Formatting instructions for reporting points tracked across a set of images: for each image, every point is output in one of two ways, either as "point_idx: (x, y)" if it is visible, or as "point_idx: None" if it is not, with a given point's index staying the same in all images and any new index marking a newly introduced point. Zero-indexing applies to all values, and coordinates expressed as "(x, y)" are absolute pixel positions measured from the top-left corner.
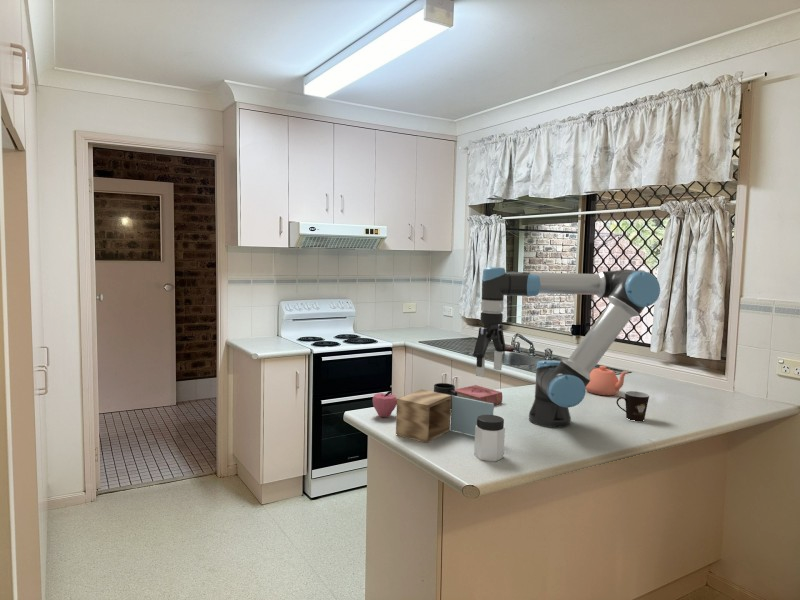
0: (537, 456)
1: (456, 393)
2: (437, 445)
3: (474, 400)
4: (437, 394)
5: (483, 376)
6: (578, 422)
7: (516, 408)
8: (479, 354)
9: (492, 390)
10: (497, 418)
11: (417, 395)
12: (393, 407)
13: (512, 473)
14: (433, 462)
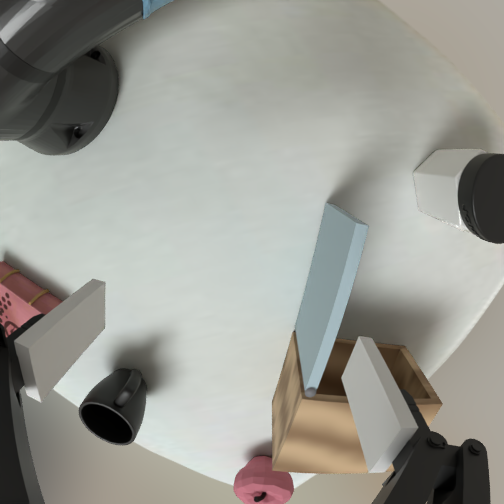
0: (387, 66)
1: (129, 388)
2: (414, 319)
3: (340, 310)
4: (312, 431)
5: (367, 338)
6: None
7: (14, 214)
8: (484, 453)
9: None
10: (498, 176)
11: (348, 459)
12: (270, 467)
13: (496, 124)
14: (495, 288)
